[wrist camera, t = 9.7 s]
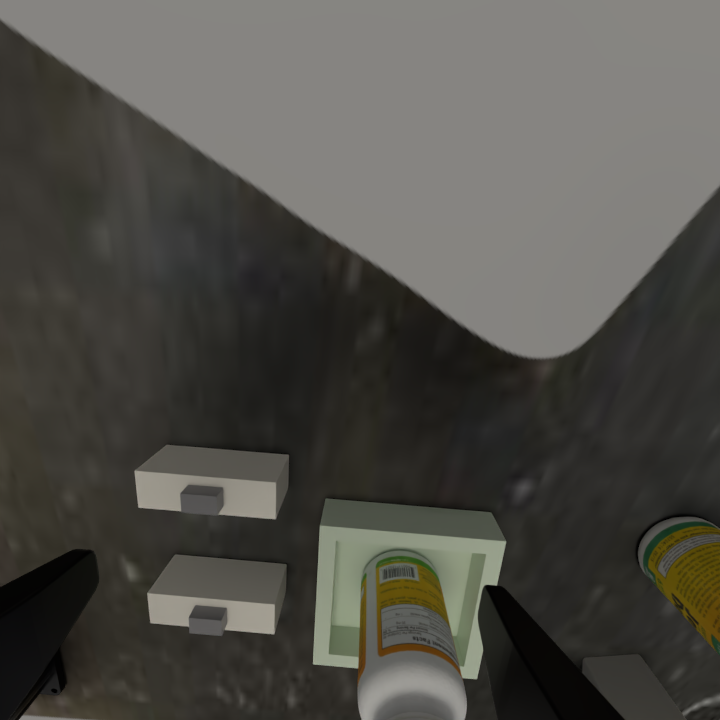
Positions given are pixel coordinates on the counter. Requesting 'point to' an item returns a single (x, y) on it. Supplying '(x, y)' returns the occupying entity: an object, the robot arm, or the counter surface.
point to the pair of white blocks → (206, 574)
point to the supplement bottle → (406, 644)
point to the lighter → (630, 687)
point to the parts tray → (413, 534)
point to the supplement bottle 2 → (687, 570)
